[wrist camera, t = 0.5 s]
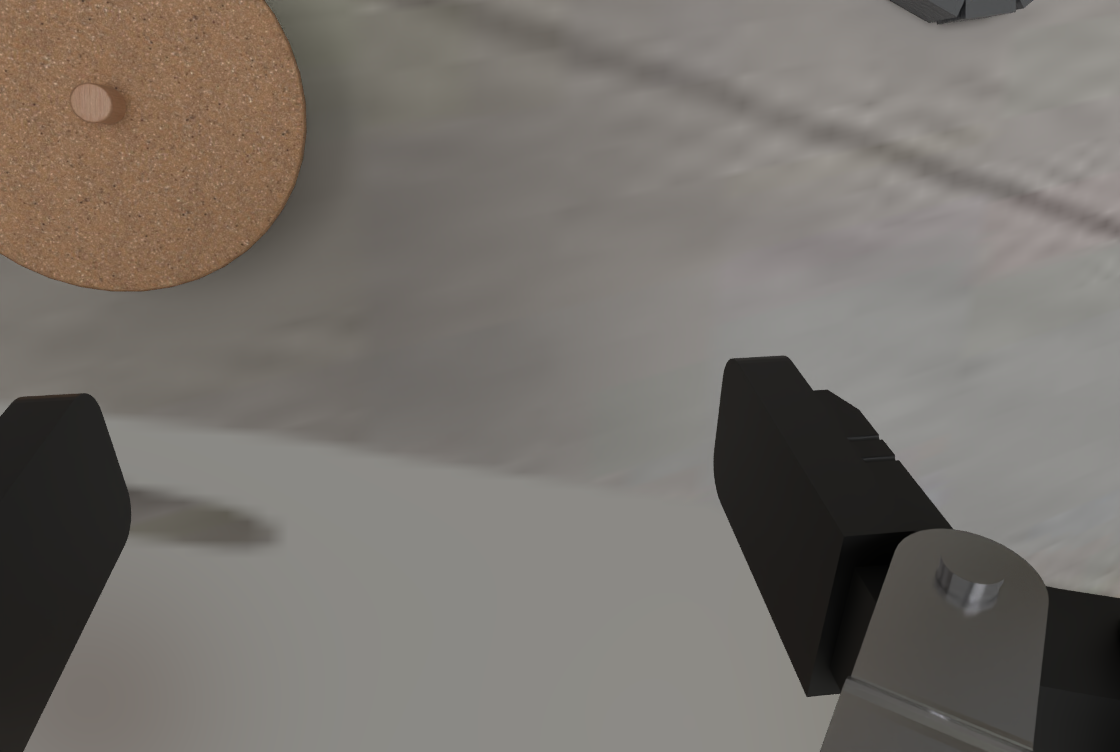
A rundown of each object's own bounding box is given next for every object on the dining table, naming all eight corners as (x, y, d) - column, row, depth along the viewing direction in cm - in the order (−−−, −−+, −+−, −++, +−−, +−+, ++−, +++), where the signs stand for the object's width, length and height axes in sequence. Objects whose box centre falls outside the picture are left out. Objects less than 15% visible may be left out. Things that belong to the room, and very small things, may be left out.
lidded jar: (322, -16, 31) (311, -79, 22) (308, 270, 33) (294, 316, 25) (-8, -73, 28) (-170, -171, 19) (6, 245, 31) (-133, 286, 22)
